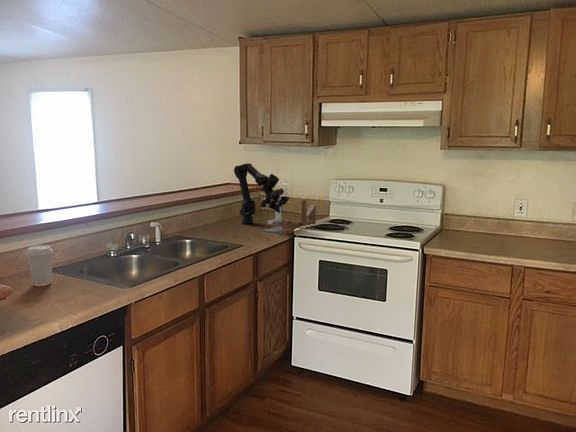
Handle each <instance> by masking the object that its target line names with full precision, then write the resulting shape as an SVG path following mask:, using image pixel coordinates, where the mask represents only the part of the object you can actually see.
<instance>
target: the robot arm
mask: <svg viewBox="0 0 576 432" xmlns="http://www.w3.org/2000/svg"><path fill="white" fill-rule="evenodd" d="M233 173H234V175H235V177H236V178H237V179H238V182H239V187H240V191H241V195H242V203H241V209H240V210H239V215H241V216H242V217H241V219H242V222H240V224H243V225H252V224H255V222H254V217H253V215H255V212H256V207H257V205H256V202H255V200H253V199H252V198H251V195H250V189H249V186H248V182H247V181H248V180H247V176H248V173H249V175H250V176H252V178H253V179H254V180H255V183H256V184H257V185H258V186H260V187H261V189H260V192H263V193H264V194H265V198H263V200H262V201H261V202H260V207H261V208H267V205H268V208H270V209H272V210H274V212H275V211H277V212H278V213H280V210H279V208H278V206H281V207H282V213H284V210H283V206H284V205H286V204H287V203H288V201H289V200H290V198H289V196H287V195H284V193H285V190H284V188H282V187H281V188H278V189H275V190H274V188H275V187H276V186H277V184H278V183H279V181H280V178H279V177H278V176H276V175H274V173H271V174H270V175H269V176H268V175H266V174H262V172H261V173H260V171H258V170H257V169H256V167H254V166H253V164H252V163H248V162H247V163H243V164H241V165H235V166H234V169H233ZM282 195H283V196H282Z"/></svg>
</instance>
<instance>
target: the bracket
mask: <svg viewBox="0 0 576 432" xmlns="http://www.w3.org/2000/svg"><path fill="white" fill-rule="evenodd" d="M278 208H279V210H280V213H278V212H277V211H275V210H274V212H275V216H274V219H270V220H269V219H268V220H267V224H269V225H276V224H279V223H282V220H283V216H282V215H283V212H282V208H283V206H282V207H281V206H278Z"/></svg>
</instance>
